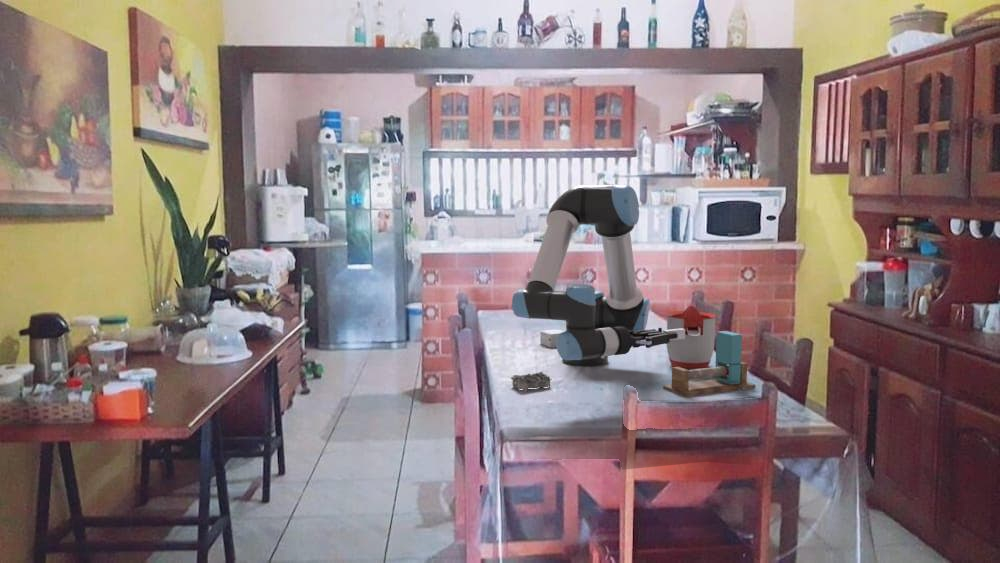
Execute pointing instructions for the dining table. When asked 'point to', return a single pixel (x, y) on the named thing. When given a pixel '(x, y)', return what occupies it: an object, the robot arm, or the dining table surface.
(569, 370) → the dining table surface
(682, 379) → the rail
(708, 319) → the citrus juicer
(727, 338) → the collar
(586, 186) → the robot arm
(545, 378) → the egg carton
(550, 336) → the small box
